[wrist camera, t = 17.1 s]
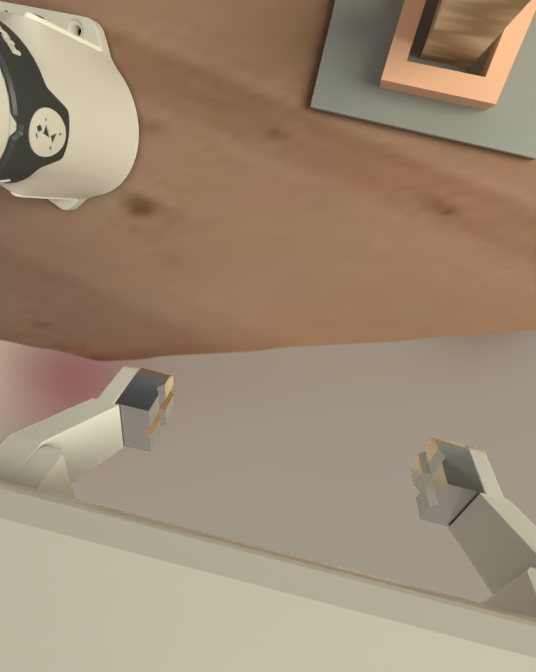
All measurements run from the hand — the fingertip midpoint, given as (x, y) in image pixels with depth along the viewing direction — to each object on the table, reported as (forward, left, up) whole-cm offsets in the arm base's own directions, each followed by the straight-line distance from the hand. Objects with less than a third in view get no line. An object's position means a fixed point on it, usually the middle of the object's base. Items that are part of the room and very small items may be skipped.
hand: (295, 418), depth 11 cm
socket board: (0, +20, -30) cm, 36 cm away
